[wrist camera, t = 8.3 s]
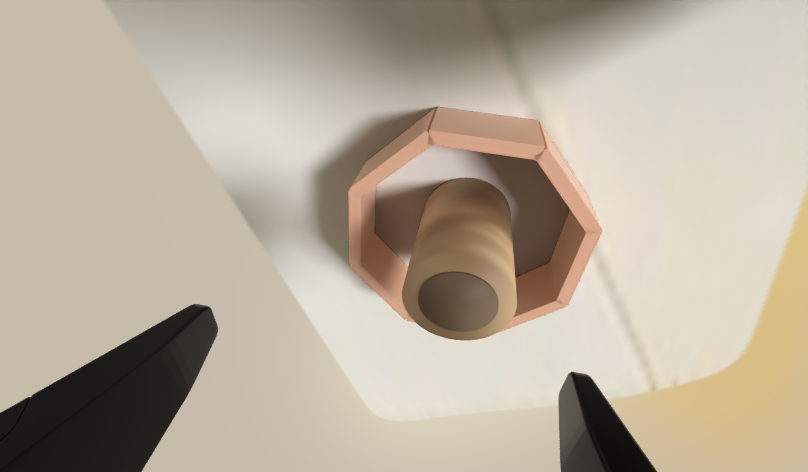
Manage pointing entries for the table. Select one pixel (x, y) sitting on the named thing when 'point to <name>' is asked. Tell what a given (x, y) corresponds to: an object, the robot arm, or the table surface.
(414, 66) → the table surface
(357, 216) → the pink octagonal ring
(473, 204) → the oak tube
